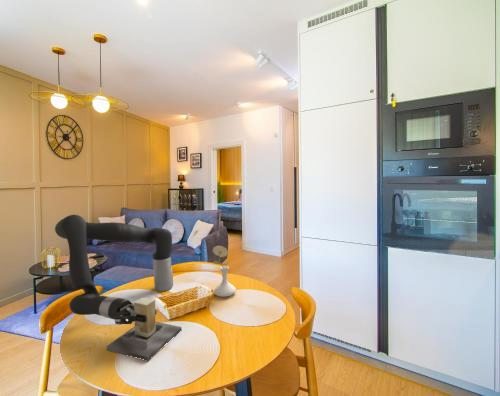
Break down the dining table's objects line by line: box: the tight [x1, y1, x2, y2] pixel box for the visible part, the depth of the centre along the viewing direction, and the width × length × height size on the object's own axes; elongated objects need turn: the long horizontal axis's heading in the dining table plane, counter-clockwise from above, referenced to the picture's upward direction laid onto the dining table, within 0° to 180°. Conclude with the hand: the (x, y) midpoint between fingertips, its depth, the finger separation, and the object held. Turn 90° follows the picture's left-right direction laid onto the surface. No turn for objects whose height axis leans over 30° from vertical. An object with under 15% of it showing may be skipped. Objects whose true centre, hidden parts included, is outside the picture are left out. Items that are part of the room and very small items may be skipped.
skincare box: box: [133, 296, 156, 338], centre depth 93 cm, size 6×4×12 cm
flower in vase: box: [212, 245, 237, 298], centre depth 130 cm, size 13×11×25 cm
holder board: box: [106, 321, 183, 362], centre depth 93 cm, size 18×18×4 cm
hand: (150, 315), depth 92 cm, fingers closed on skincare box, 4 cm apart
